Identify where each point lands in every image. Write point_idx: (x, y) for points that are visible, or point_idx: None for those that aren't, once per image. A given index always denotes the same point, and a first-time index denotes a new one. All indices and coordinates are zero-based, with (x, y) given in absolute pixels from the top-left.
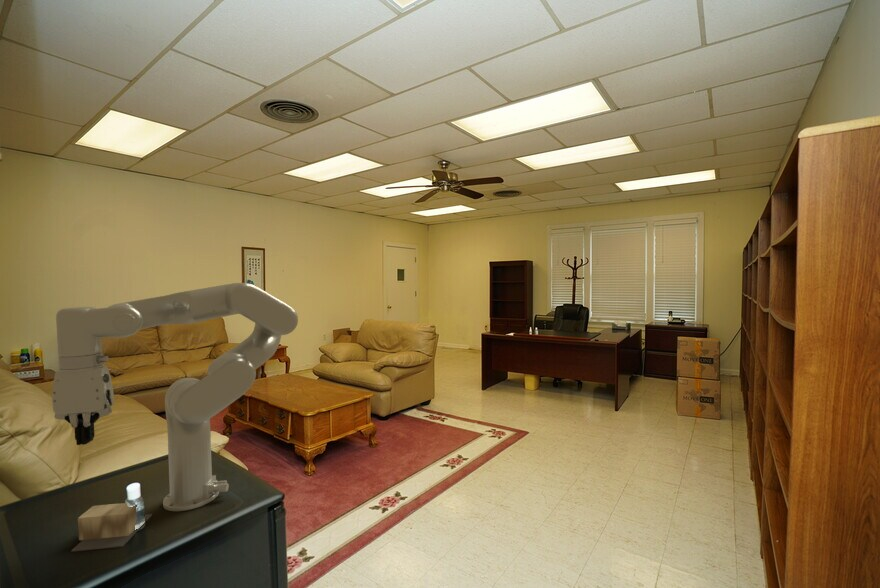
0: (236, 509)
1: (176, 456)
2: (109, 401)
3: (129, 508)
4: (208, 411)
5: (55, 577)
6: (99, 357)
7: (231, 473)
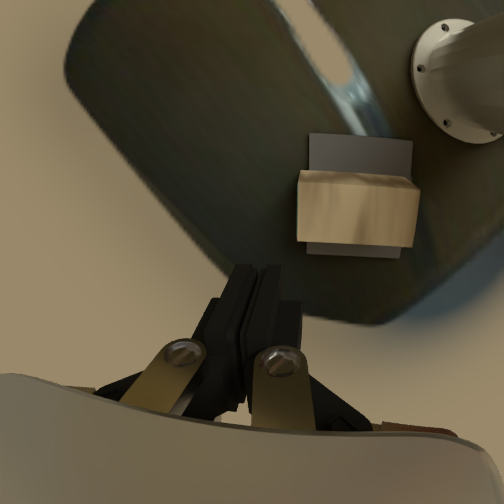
0: None
1: None
2: (447, 484)
3: (405, 221)
4: None
5: (322, 313)
6: None
7: None
